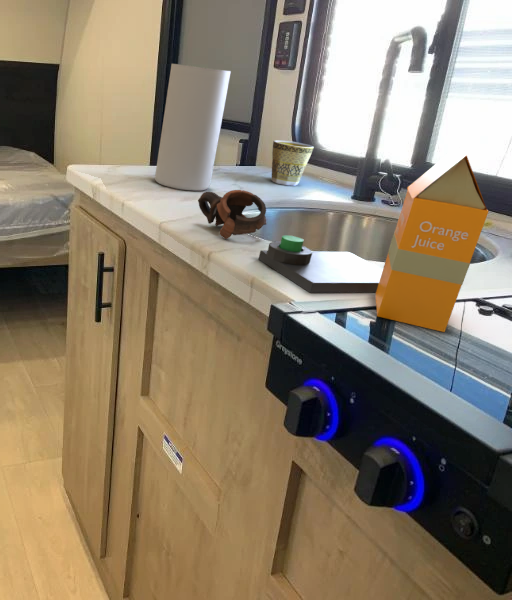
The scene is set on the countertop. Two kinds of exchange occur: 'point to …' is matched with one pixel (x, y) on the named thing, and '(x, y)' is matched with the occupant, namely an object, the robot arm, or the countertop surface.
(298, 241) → the button
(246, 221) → the broken mug
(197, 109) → the cylinder vase
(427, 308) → the orange juice
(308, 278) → the scale
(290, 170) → the ceramic cup
